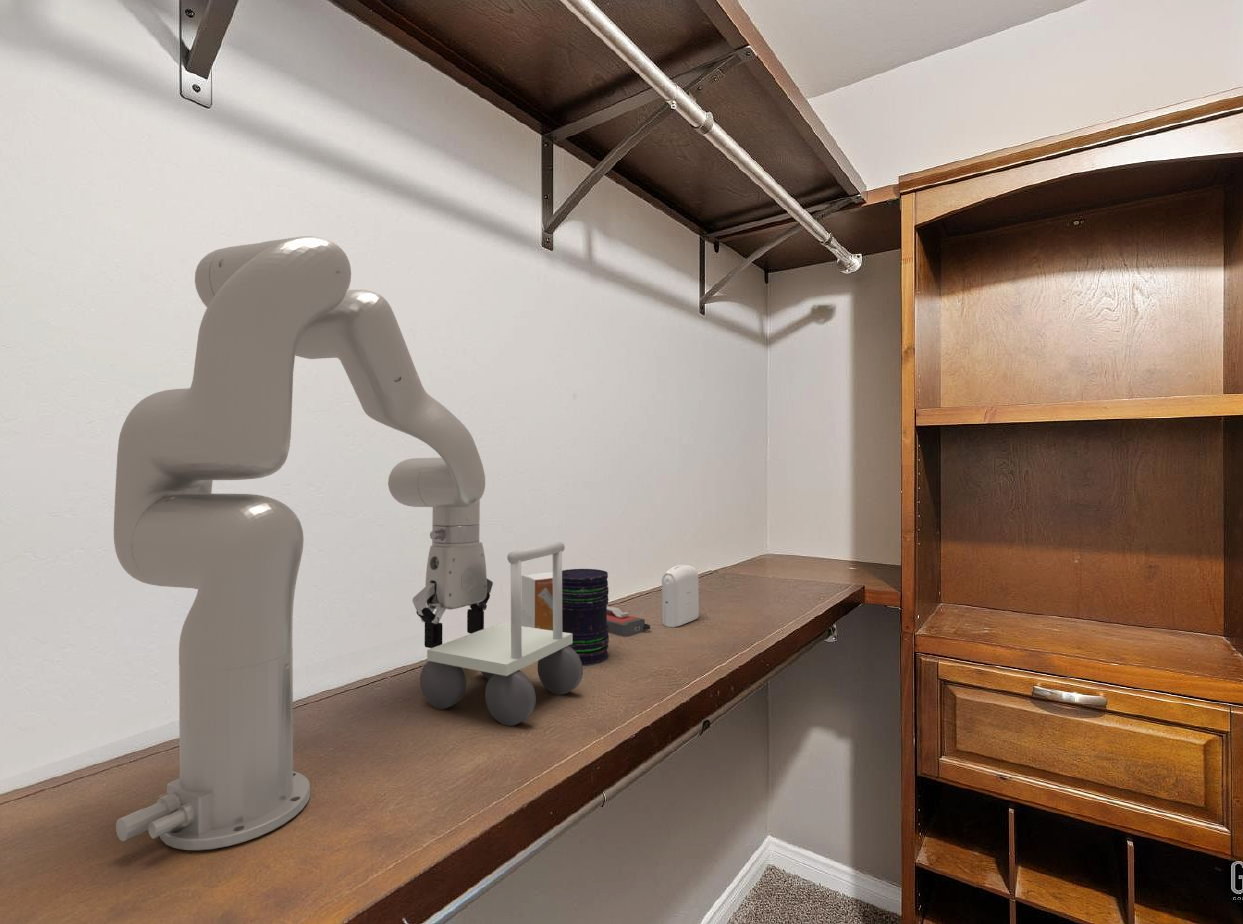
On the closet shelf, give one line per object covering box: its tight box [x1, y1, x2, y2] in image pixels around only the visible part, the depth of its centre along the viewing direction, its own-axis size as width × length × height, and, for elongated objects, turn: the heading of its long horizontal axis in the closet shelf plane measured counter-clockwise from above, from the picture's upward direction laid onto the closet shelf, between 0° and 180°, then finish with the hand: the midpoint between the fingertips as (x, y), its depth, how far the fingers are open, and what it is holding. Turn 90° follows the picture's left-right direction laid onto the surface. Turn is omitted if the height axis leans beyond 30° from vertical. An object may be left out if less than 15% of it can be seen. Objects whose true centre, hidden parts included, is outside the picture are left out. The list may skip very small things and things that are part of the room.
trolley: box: [419, 541, 584, 727], centre depth 89 cm, size 16×19×23 cm
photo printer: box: [661, 564, 700, 628], centre depth 132 cm, size 10×4×12 cm, turn 141°
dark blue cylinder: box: [562, 568, 610, 667], centre depth 108 cm, size 10×10×15 cm
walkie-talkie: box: [607, 605, 651, 638], centre depth 130 cm, size 9×4×20 cm
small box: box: [521, 571, 553, 631], centre depth 118 cm, size 8×6×13 cm
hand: (455, 640), depth 99 cm, fingers open, 9 cm apart
